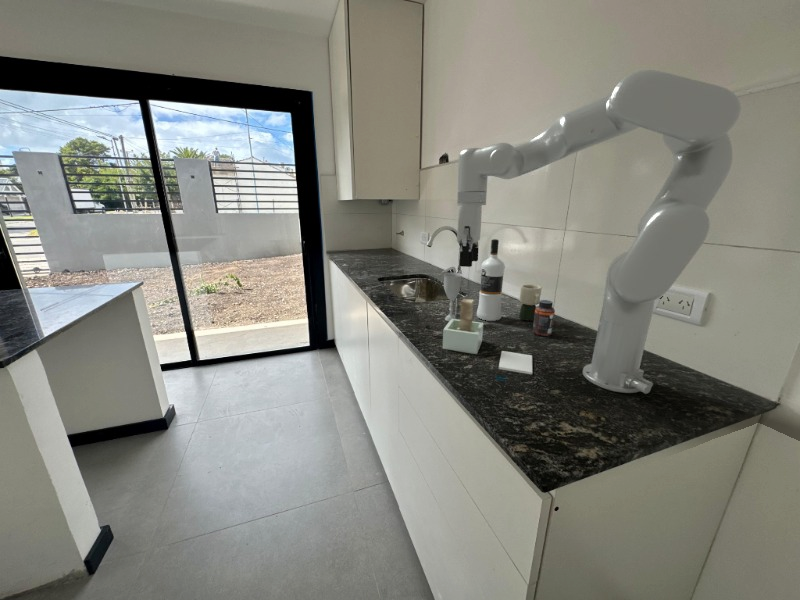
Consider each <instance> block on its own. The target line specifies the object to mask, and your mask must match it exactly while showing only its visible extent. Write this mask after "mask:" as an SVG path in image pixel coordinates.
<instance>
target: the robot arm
mask: <svg viewBox="0 0 800 600" xmlns="http://www.w3.org/2000/svg"><path fill="white" fill-rule="evenodd" d="M741 108H742V107H741V101H740V99H739V97H738V96H737V95H736V94H735V92H734V91H732V90H730V89H728V88H726V87H723V86H720V85H717V84H713V83H709V82H705V81H701V80H696V79H693V78H689V77H685V76H681V75H677V74H674V73H673V74H672V73H669V72H664V71H660V70H654V69H653V70H652V69H643V70H637V71H634V72H632V73H630V74H628V75H626V76H625V77H624V78H622V79H621V80H620V81H619V82H618V83H617V84H616V86H614V89H612V92H611V93H608V94H606V95H605V96H601V97H600V98H597V99H595V100H593V101H591V102H589V103H586V104H584V105H582V106H580V107H578V108H575V109H573V110H570V111H569V112H565V113H564V114H562V115H560V116H559V117H558V118H557V119H556V120H554V122H552V124H551V125H550V126H549V127H548V128H547V129H546V130H544V131H543V132H542V133H540V134H539V135H537V136H536V137H534V138H532V139H530V140H528V141H525V142H523V143H520V144H518V145H516V146H513V145H512V144H511V143H508V142H498V143H494V144H492V145H491V144H490V145H488V146H484V147H471V148H464V149H463V150H461V151H460V153H459V154H458V165H457V166H458V170H457V171H458V172H457V199H456V200H457V203H456V205H457V207H458V206H459V211H458V220H457V232H456V233H457V234H456V235H457V236H456V242H457V244H460V251H459V266H460V267H464V268H465V267H466V268H471V267H472V266H473V262H478V260H479V241H480V239H481V232H482V231H481V230H482V206H487V193H488V177H496V178H499V179H503V180H512V179H515V178H517V177H520V176H522V175H525V174H528V173H531V172H534V171H536V170H539V169H540V168H543V167H546V166H547V165H550V164H552V163H555V162H557V161H559V160H562V159H565V158H566V157H568V156H570V155H573V154H575V153H578V152H580V151H582V150H586V149H588V148H591V147H593V146H595V145H599V144H601V143H604V142H606V141H609V140H611V139H614V138H616V137H620V136H623V135H625V134H628V133H630V132H632V131H635V130H636V129H639V128H642V129H646V130H649V131H651V132H655V133H657V134H659V135H660V134H661V135H662V139H663V142H664V145H665V146H666V147H667V148H668V150H669V151H670V152H671V153H672V157H673V165H672V168H671V171H670V172H669V175H667V176H668V177H667V178H666V179H665V181H664V183H663V185H662V187H661V189H660V190H659V191H658V193H657V195H656V197H655V198H654V200H653V201H652V203H651V205H649V207H648V209H647V210H646V212H645V213H644V214H643V215H642V217H641V218H640V220H639V223H638V226H637V236H636V237H635V239H634V240H633V242H632V243H631V246H630V247H629V249H628V250H627V251H625V252H622V253H621V254H619V255H617V256H616V257H615V258H614V259H613V260H612V261H611V262H610V264H609V266H608V269H607V272H606V277H605V278H606V279H605V287H604V293H603V294H604V295H603V300H602V304H601V305H602V306H601V312H600V315H599V322H598V326H597V331H596V338H595V343H594V347H593V354H592V358H591V359H592V360H591V362H590V363H589V364H586V365H584V367H582V368H583V369H582V375H583V377H584V378H585V379H586V380H587V381H588V382H590V383H592V384H593V385H595V386H597V387H600V388H603V389H604V390H607V391H612V392H617V393H622V394H623V393H624V394H634V393H638V392H640V393H641V392H642V393H643V394H645V395H646V394H649V393H650V392H651V390H652V387H653V386H654V383H653V382H652V381H650V380H648V379H645V378H644V372H645V371H644V370H643V369H641V368H640V366H641V363H642V359H643V354H644V349H645V345H646V341H647V336H648V333H649V329H650V325H651V323H652V322H651V321H652V317H653V312H654V306H655V301H656V300H658V299H660V298H661V297H662V296H664V295H665V294H666V293H667V292H668V291H669V290H670V288H672V286H673V285H674V283H675V282H676V281H677V279H678V278H679V277H680V276H681V274H682V273H683V271H684V270H685V269H686V268H687V266H688V265H689V263H690V262H691V260H692V259H693V258H694V257H695V255H696V254H697V252H698V251H699V250H700V248H701V247H702V246H703V244H704V242H705V240H706V239H707V237H708V233H709V231H710V230H709V229H710V225H711V224H710V222H711V221H710V218H709V215H708V213H707V212H706V210H708V207H709V206H710V205H711V203H712V201H713V200H714V198H715V197H716V196H717V193H718V191H719V190H720V189H721V187H722V185H723V184H724V182H725V180H726V179H727V177H728V174H729V172H730V171H731V167H732V164H733V147H732V146H733V145H732V142H731V138H730V136H729V134H728V132H729V131H731V129H732V128H733V127H734V125H735V124H736V122H737V121H738V119H739V117H740V114H741Z"/></svg>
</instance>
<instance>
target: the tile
mask: <svg viewBox="0 0 800 600" xmlns="http://www.w3.org/2000/svg"><path fill="white" fill-rule="evenodd" d="M498 370H503V371H508V372H513V373H514V372H515V373H522V374H524V375H525V374H526V375H533V355H531V354H524V353H519V352H512V351H504V350H501V354H500V358H499V364H498Z"/></svg>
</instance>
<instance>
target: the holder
mask: <svg viewBox="0 0 800 600" xmlns="http://www.w3.org/2000/svg"><path fill="white" fill-rule="evenodd" d="M457 328H460V319H459V318H458V319H457V318H456V319H451V320H450V321H448V323H447V324H446V325H445V327H444V328H443V331H442V349H444V350H449V351H454V352H455V351H456V352H461V353H466V354H467V353H468V354H473V355H474V354H475V355H477V354H478V352H479V349H480V347H481V345H482V342H483V335H484V322H479V321H474V320H472V330H474V332H467V331H460V330H457Z"/></svg>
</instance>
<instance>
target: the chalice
mask: <svg viewBox="0 0 800 600" xmlns="http://www.w3.org/2000/svg"><path fill="white" fill-rule="evenodd" d="M442 274H443V277H444V278H443V279H444V280H443V289H444V292H445V294H446V297H447V299H449V301H450V302H449V304H448V305H449V308H448V310H449V314H447V315H446V316H445V318H444V320H445V321H448V322H449V321H450V320H451V319H457V318H456V315H454V314H453V311H454V300H455V299H457V297H458V295H459V293H460V291H461V288H462V287H461V286H462V277H463V274H462V273H460V272H444V273H442Z"/></svg>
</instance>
